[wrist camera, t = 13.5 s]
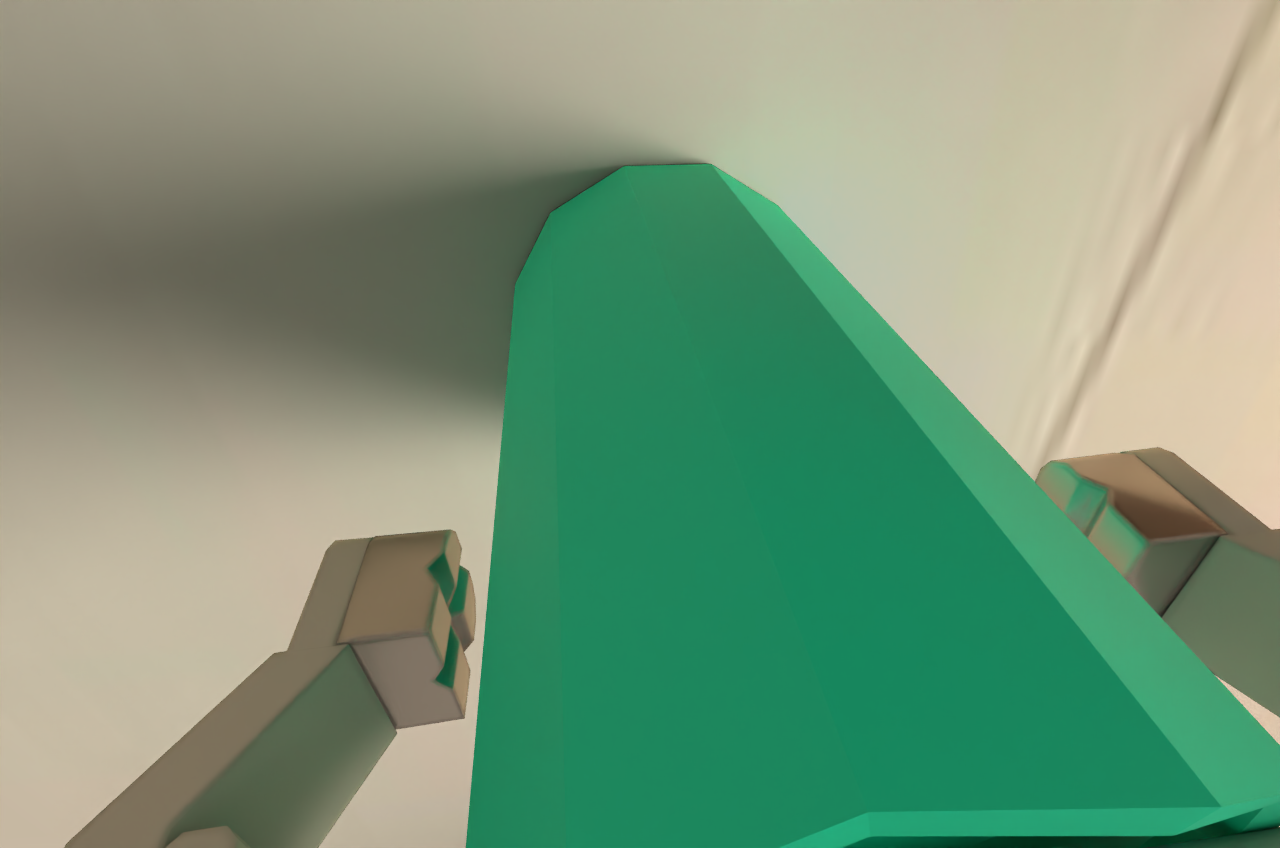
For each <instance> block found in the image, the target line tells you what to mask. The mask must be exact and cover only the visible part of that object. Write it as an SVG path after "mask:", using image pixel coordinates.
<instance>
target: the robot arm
mask: <svg viewBox="0 0 1280 848" xmlns="http://www.w3.org/2000/svg"><path fill="white" fill-rule="evenodd" d="M1035 483H1036V484H1037V485H1038V486H1039V487H1040V488H1041V489H1042V490H1043V491H1044V492H1045V493H1046V494H1047V496H1048V497H1049V498H1050V499H1051V500H1052V501H1053V502H1054V503H1055V504H1056V505H1057V506H1058V507H1059V508H1060V509H1061V511H1062V512H1063V513H1064V514H1065V515H1066V516H1067V517H1068V518H1069V519H1070V520H1071V521H1072V522H1073V523H1074V525H1075V526H1076V527H1077V528H1078V529H1079V530H1080V531H1081V532H1082V533H1083V534H1084V535H1085V536H1086V537H1087V539H1088V540H1089V541H1090V542H1091V543H1092V544H1093V545H1094V546H1095V547H1096V548H1097V549H1098V550H1099V551H1100V553H1101V554H1102V555H1103V556H1104V557H1105V558H1106V559H1107V560H1108V561H1109V562H1110V563H1111V564H1112V565H1113V566H1114V568H1115V569H1116V570H1117V571H1118V572H1119V573H1120V574H1121V575H1122V576H1123V577H1124V578H1125V579H1126V580H1127V582H1128V583H1129V584H1130V585H1131V586H1132V587H1133V588H1134V589H1135V590H1136V591H1137V592H1138V593H1139V594H1140V596H1141V597H1142V598H1143V599H1144V600H1145V601H1146V602H1147V603H1148V604H1149V605H1150V606H1151V607H1152V608H1153V610H1154V611H1155V612H1156V613H1157V614H1158V615H1159V616H1160V617H1161V618H1162V619H1163V620H1164V621H1165V622H1166V623H1167V625H1168V626H1169V627H1170V628H1171V629H1172V630H1173V631H1174V632H1175V633H1176V634H1177V635H1178V636H1179V637H1180V639H1181V640H1182V641H1183V642H1184V643H1185V644H1186V645H1187V646H1188V647H1189V648H1190V649H1191V650H1192V651H1193V653H1194V654H1195V655H1196V656H1197V657H1198V658H1199V659H1200V660H1201V661H1202V662H1203V663H1204V664H1205V665H1206V667H1207V668H1208V669H1209V670H1210V671H1211V672H1212V673H1213V674H1214V675H1216V676H1217V677H1219V678H1220V679H1222V680H1223V681H1225V682H1226V683H1228V684H1229V685H1231V686H1233V687H1234V688H1236V689H1237V690H1239V691H1240V692H1242V693H1243V694H1245V695H1246V696H1248V697H1249V698H1251V699H1252V700H1254V701H1255V702H1257V703H1258V704H1260V705H1261V706H1263V707H1265V708H1266V709H1268V710H1269V711H1271V712H1272V713H1274V714H1275V715H1277V716H1278V717H1280V529H1274V530H1271V529H1270V528H1268V527H1267V526H1266V525H1265V524H1263V523H1262V522H1261V521H1260V520H1258V519H1257V518H1256V517H1254V516H1253V515H1252V514H1251V513H1249V512H1248V511H1247V510H1246V509H1244V508H1243V507H1242V506H1240V505H1239V504H1238V503H1237V502H1235V501H1234V500H1233V499H1232V498H1230V497H1229V496H1228V495H1226V494H1225V493H1224V492H1223V491H1221V490H1220V489H1219V488H1218V487H1216V486H1215V485H1214V484H1212V483H1211V482H1210V481H1209V480H1207V479H1206V478H1205V477H1204V476H1202V475H1201V474H1200V473H1198V472H1197V471H1196V470H1195V469H1193V468H1192V467H1191V466H1190V465H1188V464H1187V463H1186V462H1184V461H1183V460H1182V459H1181V458H1179V457H1178V456H1177V455H1176V454H1174V453H1172V452H1170V451H1167V450H1164V449H1162V448H1159V447H1157V448H1149V449H1141V450H1133V451H1125V452H1120V453H1109V454H1101V455H1093V456H1085V457H1077V458H1069V459H1061V460H1053V461H1050V462H1049V463H1047V464H1046V465H1045V466H1044V467H1042V468H1041V469H1040V472H1039V474H1038V476H1037V478H1036V480H1035ZM461 551H462V548H461V545H460V542H459V540H458V537H457V534H456V532H455V531H453V530H440V531H428V532H417V533H406V534H395V535H384V536H375V537H372V538H360V539H348V540H336V541H334V542H333V543H332V545H331V546H330V547H329V548H328V549H327V550H326V552H325V554H324V557H323V560H322V562H321V565H320V567H319V570H318V572H317V575H316V578H315V580H314V583H313V585H312V588H311V590H310V593H309V595H308V598H307V601H306V603H305V606H304V608H303V611H302V613H301V616H300V619H299V621H298V624H297V626H296V629H295V631H294V634H293V637H292V639H291V642H290V644H289V647H288V649H287V651H284V652H278V653H274V654H272V655H271V656H270V657H269V658H268V659H267V660H266V661H265V662H264V663H263V664H262V665H260V666H259V667H258V668H257V669H256V670H255V671H254V672H253V673H252V674H251V675H250V676H248V677H247V678H246V679H245V680H244V681H243V682H242V683H241V684H240V685H239V686H238V687H236V688H235V689H234V690H233V691H232V692H231V693H230V694H229V695H228V696H227V697H226V698H225V699H223V700H222V701H221V702H220V703H219V704H218V705H217V706H216V707H215V708H214V709H213V710H211V711H210V712H209V713H208V714H207V715H206V716H205V717H204V718H203V719H202V720H201V721H199V722H198V723H197V724H196V725H195V726H194V727H193V728H192V729H191V730H190V731H189V732H187V733H186V734H185V735H184V736H183V737H182V738H181V739H180V740H179V741H178V742H177V743H175V744H174V745H173V746H172V747H171V748H170V749H169V750H168V751H167V752H166V753H165V754H164V755H162V756H161V757H160V758H159V759H158V760H157V761H156V762H155V763H154V764H153V765H152V766H150V767H149V768H148V769H147V770H146V771H145V772H144V773H143V774H142V775H141V776H140V777H138V778H137V779H136V780H135V781H134V782H133V783H132V784H131V785H130V786H129V787H128V788H126V789H125V790H124V791H123V792H122V793H121V794H120V795H119V796H118V797H117V798H116V799H114V800H113V801H112V802H111V803H110V804H109V805H108V806H107V807H106V808H105V809H104V810H103V811H101V812H100V813H99V814H98V815H97V816H96V817H95V818H94V819H93V820H92V821H91V822H89V823H88V824H87V825H86V826H85V827H84V828H83V829H82V830H81V831H80V832H79V833H77V834H76V835H75V836H74V837H73V838H72V839H71V840H70V841H69V842H68V843H67V844H66V846H65V848H318V847H319V846H320V844H321V843H322V841H323V840H324V838H325V837H326V836H327V834H328V833H329V831H330V830H331V828H332V827H333V825H334V824H335V823H336V821H337V820H338V818H339V817H340V815H341V814H342V812H343V811H344V810H345V808H346V807H347V805H348V804H349V802H350V801H351V799H352V798H353V797H354V795H355V794H356V792H357V791H358V789H359V788H360V786H361V785H362V783H363V782H364V781H365V779H366V778H367V776H368V775H369V773H370V772H371V770H372V769H373V768H374V766H375V765H376V763H377V762H378V760H379V759H380V757H381V756H382V755H383V753H384V752H385V750H386V749H387V747H388V746H389V744H390V743H391V742H392V740H393V739H394V737H395V736H396V734H397V732H396V730H395V729H401V728H407V727H414V726H420V725H426V724H432V723H439V722H445V721H451V720H458V719H464V718H465V711H466V703H467V695H468V686H469V678H470V667H469V665H468V662H467V659H466V656H465V653H464V651H465V650H466V649H467V648H468V647H469V645H470V644H471V643H472V642H473V641H474V635H475V625H476V605H475V594H474V588H473V583H472V579H471V576H470V573H469V571H468V570H466V569H465V568H463V567H462V566H460V558H461ZM1147 848H1280V827H1277V828H1270V829H1264V830H1257V831H1251V832H1246V833H1238V834H1231V835H1225V836H1218V837H1212V838H1205V839H1199V840H1193V841H1186V842H1180V843H1173V844H1167V845H1160V846H1154V847H1147Z"/></svg>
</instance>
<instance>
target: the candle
mask: <svg viewBox="0 0 1280 848" xmlns="http://www.w3.org/2000/svg"><path fill="white" fill-rule="evenodd" d="M1279 826H1280V745H1279V744H1278V743H1277V742H1276V741H1275V740H1274V739H1273V737H1272V736H1271V735H1270V734H1269V733H1268V732H1267V731H1266V730H1265V729H1264V728H1263V727H1262V726H1261V725H1260V724H1259V722H1258V721H1257V720H1256V719H1255V718H1254V717H1253V716H1252V715H1251V714H1250V713H1249V712H1248V711H1247V710H1246V708H1245V707H1244V706H1243V705H1242V704H1241V703H1240V702H1239V701H1238V700H1237V699H1236V698H1235V697H1234V696H1233V694H1232V693H1231V692H1230V691H1229V690H1228V689H1227V688H1226V687H1225V686H1224V685H1223V684H1222V683H1221V682H1220V680H1219V679H1218V678H1217V677H1216V676H1215V675H1214V674H1213V673H1212V672H1211V671H1210V670H1209V669H1208V668H1207V667H1206V665H1205V664H1204V663H1203V662H1202V661H1201V660H1200V659H1199V658H1198V657H1197V656H1196V655H1195V654H1194V653H1193V651H1192V650H1191V649H1190V648H1189V647H1188V646H1187V645H1186V644H1185V643H1184V642H1183V641H1182V640H1181V639H1180V637H1179V636H1178V635H1177V634H1176V633H1175V632H1174V631H1173V630H1172V629H1171V628H1170V627H1169V626H1168V625H1167V623H1166V622H1165V621H1164V620H1163V619H1162V618H1161V617H1160V616H1159V615H1158V614H1157V613H1156V612H1155V611H1154V610H1153V608H1152V607H1151V606H1150V605H1149V604H1148V603H1147V602H1146V601H1145V600H1144V599H1143V598H1142V597H1141V596H1140V594H1139V593H1138V592H1137V591H1136V590H1135V589H1134V588H1133V587H1132V586H1131V585H1130V584H1129V583H1128V582H1127V580H1126V579H1125V578H1124V577H1123V576H1122V575H1121V574H1120V573H1119V572H1118V571H1117V570H1116V569H1115V568H1114V566H1113V565H1112V564H1111V563H1110V562H1109V561H1108V560H1107V559H1106V558H1105V557H1104V556H1103V555H1102V554H1101V553H1100V551H1099V550H1098V549H1097V548H1096V547H1095V546H1094V545H1093V544H1092V543H1091V542H1090V541H1089V540H1088V539H1087V537H1086V536H1085V535H1084V534H1083V533H1082V532H1081V531H1080V530H1079V529H1078V528H1077V527H1076V526H1075V525H1074V523H1073V522H1072V521H1071V520H1070V519H1069V518H1068V517H1067V516H1066V515H1065V514H1064V513H1063V512H1062V511H1061V509H1060V508H1059V507H1058V506H1057V505H1056V504H1055V503H1054V502H1053V501H1052V500H1051V499H1050V498H1049V497H1048V496H1047V494H1046V493H1045V492H1044V491H1043V490H1042V489H1041V488H1040V487H1039V486H1038V485H1037V484H1036V483H1035V482H1034V480H1033V479H1032V478H1031V477H1030V476H1029V475H1028V474H1027V473H1026V472H1025V471H1024V470H1023V469H1022V468H1021V466H1020V465H1019V464H1018V463H1017V462H1016V461H1015V460H1014V459H1013V458H1012V457H1011V456H1010V455H1009V454H1008V452H1007V451H1006V450H1005V449H1004V448H1003V447H1002V446H1001V445H1000V444H999V443H998V442H997V441H996V440H995V439H994V437H993V436H992V435H991V434H990V433H989V432H988V431H987V430H986V429H985V428H984V427H983V426H982V425H981V423H980V422H979V421H978V420H977V419H976V418H975V417H974V416H973V415H972V414H971V413H970V412H969V411H968V409H967V408H966V407H965V406H964V405H963V404H962V403H961V402H960V401H959V400H958V399H957V398H956V397H955V395H954V394H953V393H952V392H951V391H950V390H949V389H948V388H947V387H946V386H945V385H944V384H943V383H942V382H941V380H940V379H939V378H938V377H937V376H936V375H935V374H934V373H933V372H932V371H931V370H930V369H929V368H928V366H927V365H926V364H925V363H924V362H923V361H922V360H921V359H920V358H919V357H918V356H917V355H916V354H915V352H914V351H913V350H912V349H911V348H910V347H909V346H908V345H907V344H906V343H905V342H904V341H903V340H902V338H901V337H900V336H899V335H898V334H897V333H896V332H895V331H894V330H893V329H892V328H891V327H890V326H889V325H888V323H887V322H886V321H885V320H884V319H883V318H882V317H881V316H880V315H879V314H878V313H877V312H876V311H875V309H874V308H873V307H872V306H871V305H870V304H869V303H868V302H867V301H866V300H865V299H864V298H863V297H862V295H861V294H860V293H859V292H858V291H857V290H856V289H855V288H854V287H853V286H852V285H851V284H850V283H849V281H848V280H847V279H846V278H845V277H844V276H843V275H842V274H841V273H840V272H839V271H838V270H837V269H836V268H835V266H834V265H833V264H832V263H831V262H830V261H829V260H828V259H827V258H826V257H825V256H824V255H823V254H822V252H821V251H820V250H819V249H818V248H817V247H816V246H815V245H814V244H813V243H812V242H811V241H810V240H809V238H808V237H807V236H806V235H805V234H804V233H803V232H802V231H801V230H800V229H799V228H798V227H797V226H796V224H795V223H794V222H793V221H792V220H791V219H790V218H789V217H788V216H787V215H786V214H785V213H784V212H783V211H782V209H781V208H780V207H779V206H778V205H776V204H775V203H773V202H771V201H770V200H768V199H767V198H765V197H763V196H762V195H760V194H758V193H757V192H755V191H754V190H752V189H750V188H749V187H747V186H746V185H744V184H742V183H741V182H739V181H738V180H736V179H734V178H733V177H731V176H729V175H728V174H726V173H725V172H723V171H721V170H720V169H718V168H717V167H715V166H713V165H712V164H686V165H644V166H623V167H622V168H620V169H619V170H617V171H615V172H614V173H612V174H611V175H609V176H608V177H606V178H604V179H603V180H601V181H600V182H598V183H596V184H595V185H593V186H592V187H590V188H589V189H587V190H585V191H584V192H582V193H581V194H579V195H578V196H576V197H574V198H573V199H571V200H570V201H568V202H567V203H565V204H563V205H562V206H560V207H559V208H557V209H555V210H554V211H552V212H551V213H550V215H549V217H548V219H547V221H546V223H545V225H544V227H543V229H542V231H541V233H540V235H539V237H538V239H537V241H536V243H535V245H534V247H533V249H532V251H531V253H530V255H529V257H528V259H527V261H526V263H525V265H524V267H523V269H522V271H521V273H520V275H519V277H518V279H517V281H516V283H515V292H514V303H513V315H512V326H511V338H510V349H509V360H508V372H507V383H506V395H505V406H504V418H503V429H502V440H501V452H500V463H499V475H498V486H497V497H496V509H495V520H494V532H493V543H492V554H491V566H490V577H489V589H488V600H487V612H486V623H485V634H484V646H483V657H482V669H481V680H480V691H479V703H478V714H477V726H476V737H475V748H474V760H473V771H472V783H471V794H470V806H469V817H468V828H467V840H466V848H1147V847H1154V846H1160V845H1167V844H1173V843H1180V842H1186V841H1193V840H1199V839H1205V838H1212V837H1218V836H1225V835H1231V834H1238V833H1246V832H1251V831H1257V830H1264V829H1270V828H1277V827H1279Z"/></svg>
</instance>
